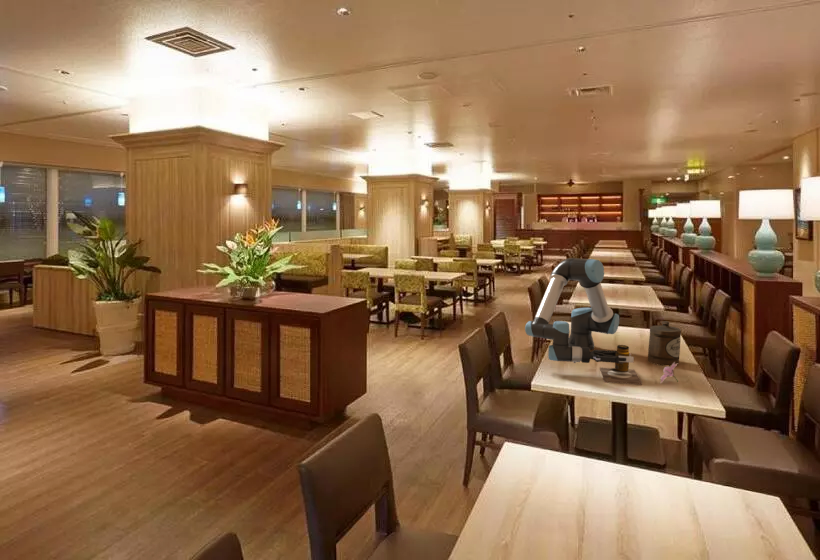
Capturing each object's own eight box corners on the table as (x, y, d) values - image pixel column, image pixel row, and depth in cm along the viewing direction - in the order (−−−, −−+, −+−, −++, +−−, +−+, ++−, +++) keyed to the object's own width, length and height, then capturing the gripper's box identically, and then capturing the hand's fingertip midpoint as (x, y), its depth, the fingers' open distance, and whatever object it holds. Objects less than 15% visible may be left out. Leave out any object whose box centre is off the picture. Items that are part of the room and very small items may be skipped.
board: (599, 369, 261) (599, 366, 261) (633, 371, 257) (634, 369, 257) (604, 382, 242) (604, 379, 241) (641, 384, 238) (641, 381, 238)
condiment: (632, 371, 247) (633, 346, 246) (621, 374, 243) (622, 348, 242) (619, 367, 254) (620, 343, 252) (608, 370, 249) (609, 345, 248)
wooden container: (674, 367, 264) (677, 325, 261) (644, 362, 273) (646, 321, 270) (682, 361, 275) (684, 320, 272) (652, 356, 284) (654, 317, 282)
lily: (666, 378, 250) (656, 361, 249) (690, 374, 241) (681, 356, 241) (659, 392, 241) (649, 374, 241) (685, 388, 233) (675, 370, 232)
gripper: (579, 357, 262) (628, 360, 256) (582, 367, 244) (635, 371, 238) (579, 342, 261) (629, 345, 256) (583, 352, 243) (636, 355, 237)
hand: (632, 357), depth 247 cm, fingers closed on condiment, 6 cm apart
